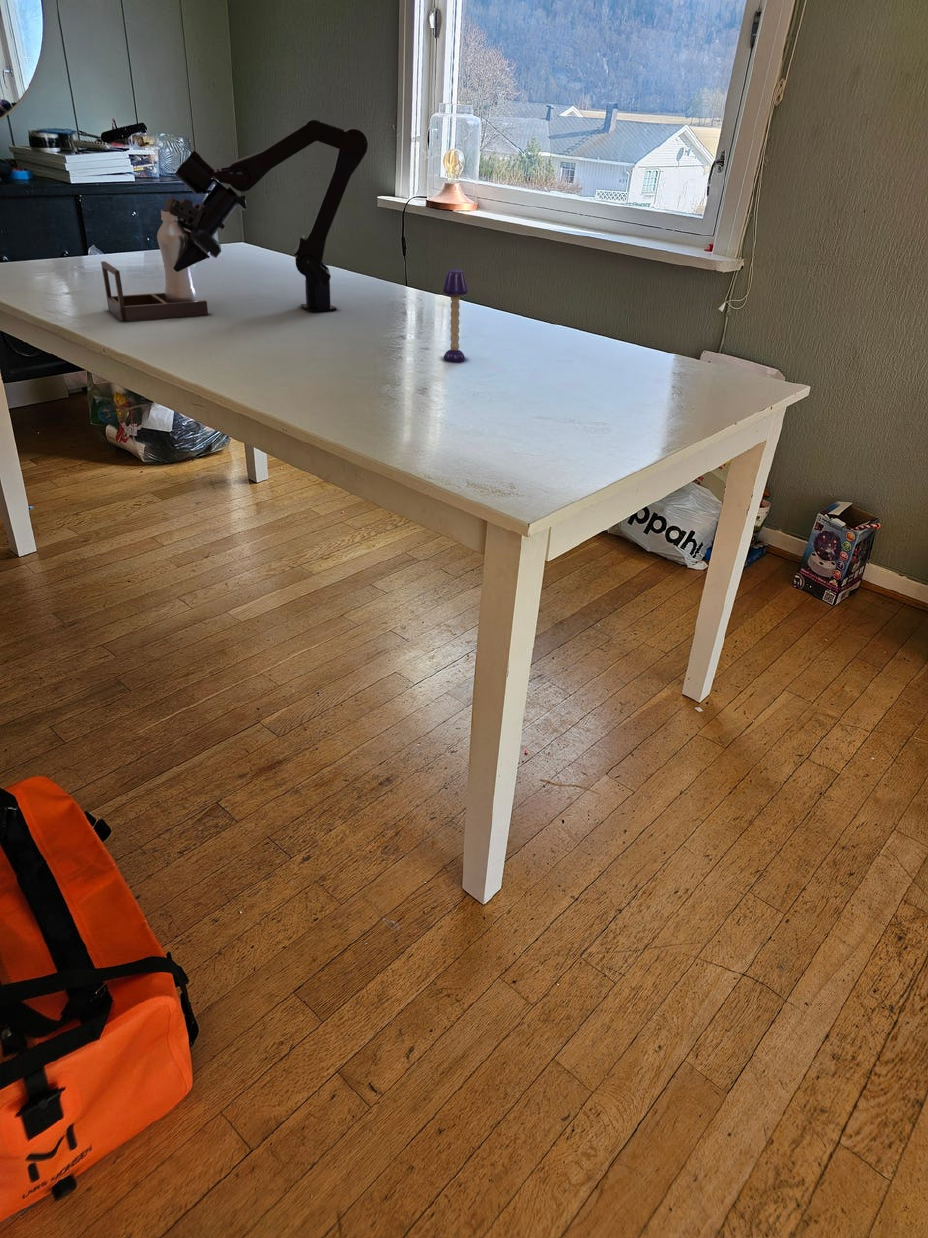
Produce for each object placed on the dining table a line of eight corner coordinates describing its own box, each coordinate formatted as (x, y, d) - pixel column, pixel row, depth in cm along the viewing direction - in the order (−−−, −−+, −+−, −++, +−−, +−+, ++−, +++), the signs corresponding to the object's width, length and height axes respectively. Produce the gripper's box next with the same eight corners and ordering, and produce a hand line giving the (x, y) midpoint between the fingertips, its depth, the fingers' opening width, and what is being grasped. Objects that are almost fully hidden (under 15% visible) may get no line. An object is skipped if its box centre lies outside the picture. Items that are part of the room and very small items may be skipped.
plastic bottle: (192, 312, 189) (181, 213, 178) (162, 310, 189) (148, 211, 178) (201, 305, 194) (190, 209, 183) (171, 303, 194) (159, 207, 183)
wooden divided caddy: (208, 315, 190) (203, 266, 185) (122, 321, 181) (114, 270, 175) (191, 304, 198) (186, 257, 192) (108, 310, 188) (100, 261, 183)
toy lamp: (443, 362, 168) (447, 272, 159) (438, 356, 172) (441, 268, 163) (467, 362, 169) (472, 272, 160) (461, 355, 173) (465, 268, 164)
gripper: (170, 177, 186) (127, 234, 187) (199, 186, 173) (153, 248, 174) (210, 215, 194) (168, 270, 195) (240, 227, 182) (196, 285, 182)
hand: (170, 267), depth 186 cm, fingers closed on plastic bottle, 6 cm apart
